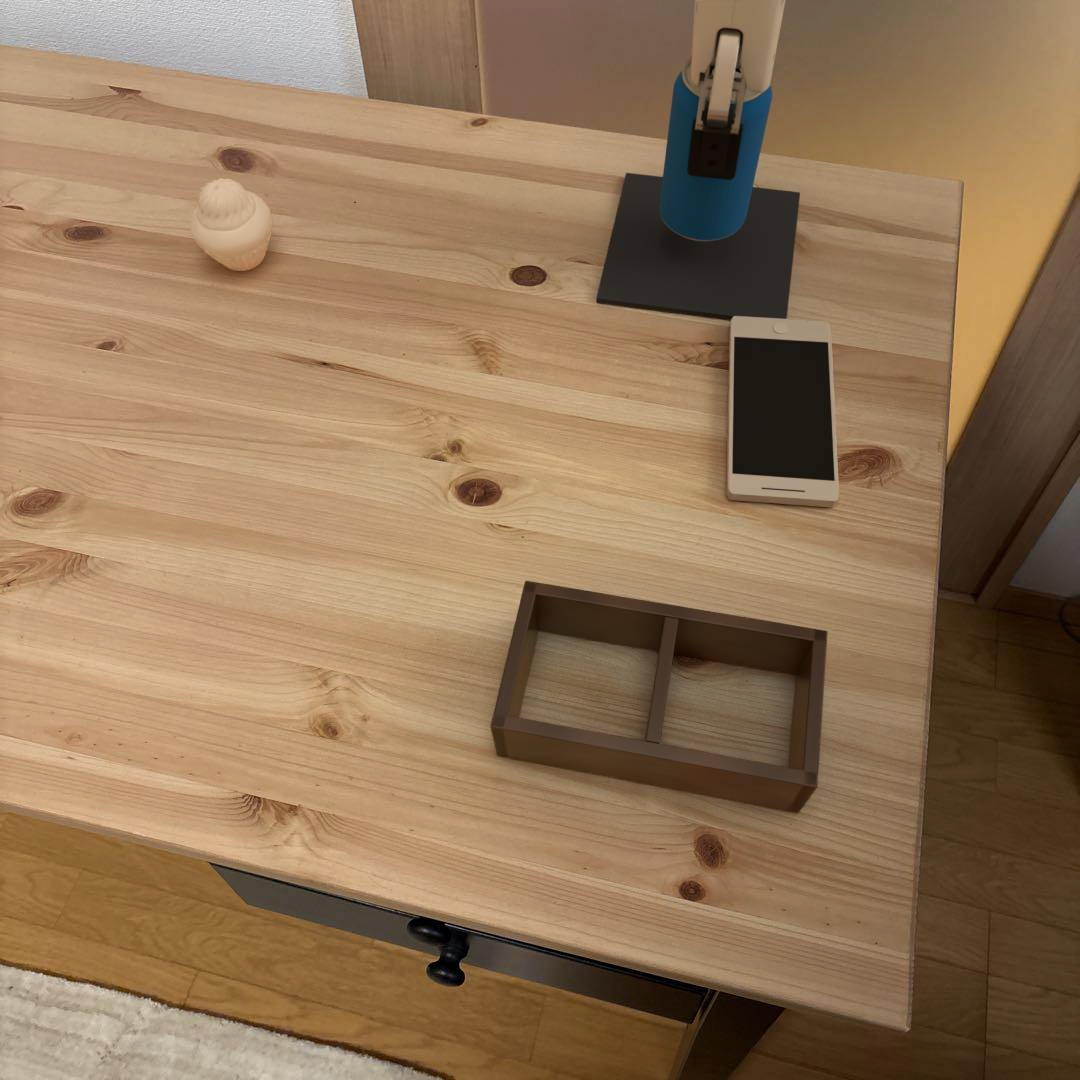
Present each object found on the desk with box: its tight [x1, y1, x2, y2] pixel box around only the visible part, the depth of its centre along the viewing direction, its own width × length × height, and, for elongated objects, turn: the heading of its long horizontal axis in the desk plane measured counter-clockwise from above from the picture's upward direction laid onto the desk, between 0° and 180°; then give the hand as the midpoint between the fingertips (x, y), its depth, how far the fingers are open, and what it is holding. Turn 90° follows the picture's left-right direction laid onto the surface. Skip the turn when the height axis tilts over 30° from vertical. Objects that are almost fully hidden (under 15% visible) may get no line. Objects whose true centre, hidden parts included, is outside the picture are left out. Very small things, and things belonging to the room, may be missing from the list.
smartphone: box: [726, 316, 840, 508], centre depth 69 cm, size 7×15×1 cm, turn 174°
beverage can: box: [659, 54, 773, 241], centre depth 70 cm, size 6×6×12 cm
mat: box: [595, 172, 801, 321], centre depth 77 cm, size 14×14×1 cm
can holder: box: [490, 580, 829, 814], centre depth 57 cm, size 17×9×5 cm, turn 78°
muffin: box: [189, 177, 273, 272], centre depth 76 cm, size 6×6×7 cm
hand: (717, 137), depth 69 cm, fingers closed on beverage can, 6 cm apart
